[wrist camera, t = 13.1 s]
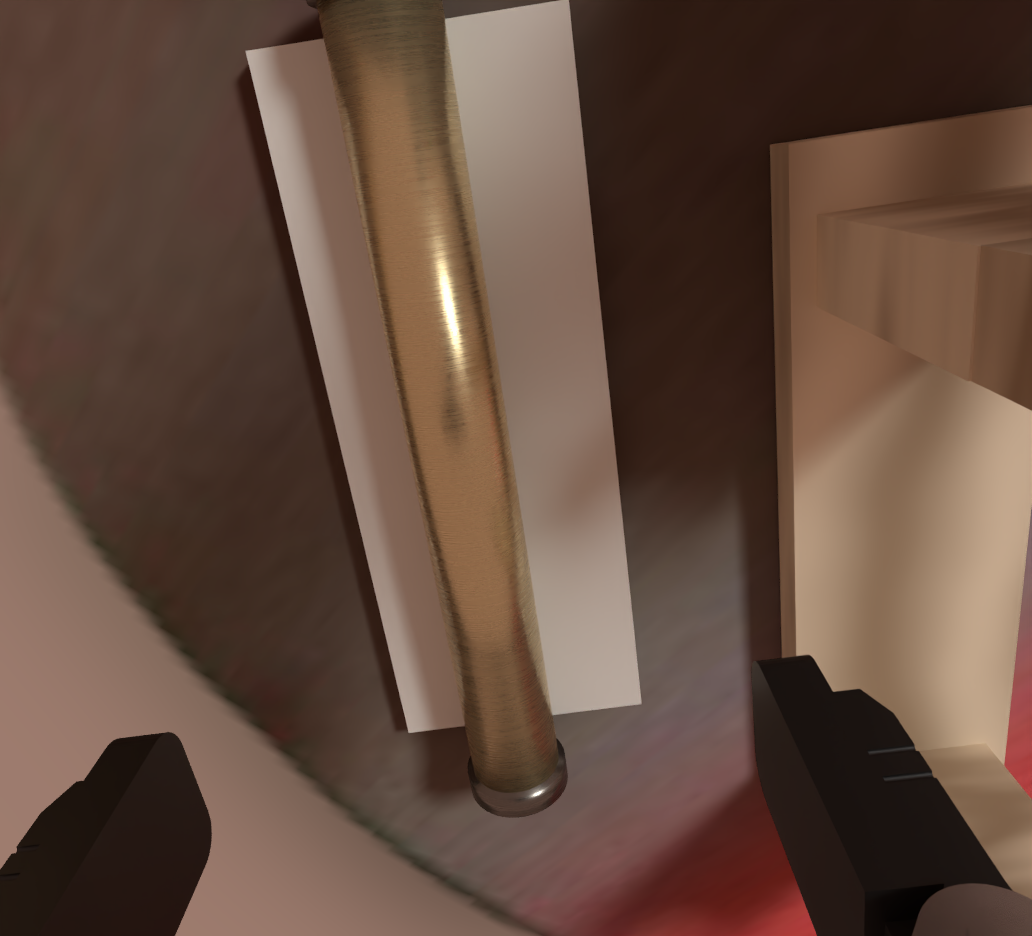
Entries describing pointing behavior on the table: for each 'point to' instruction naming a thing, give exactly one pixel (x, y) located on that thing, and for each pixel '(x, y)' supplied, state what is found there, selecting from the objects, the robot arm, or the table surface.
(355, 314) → the grey mat
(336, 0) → the brass rail
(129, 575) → the table surface
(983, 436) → the rail stand
